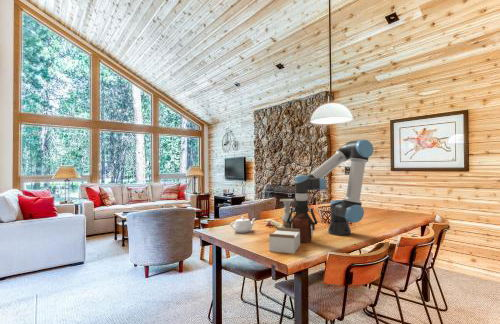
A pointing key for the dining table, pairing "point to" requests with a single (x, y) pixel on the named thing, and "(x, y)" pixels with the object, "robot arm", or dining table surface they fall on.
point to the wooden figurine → (302, 227)
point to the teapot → (242, 225)
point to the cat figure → (273, 223)
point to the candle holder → (286, 212)
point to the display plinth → (284, 240)
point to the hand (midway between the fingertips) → (302, 234)
